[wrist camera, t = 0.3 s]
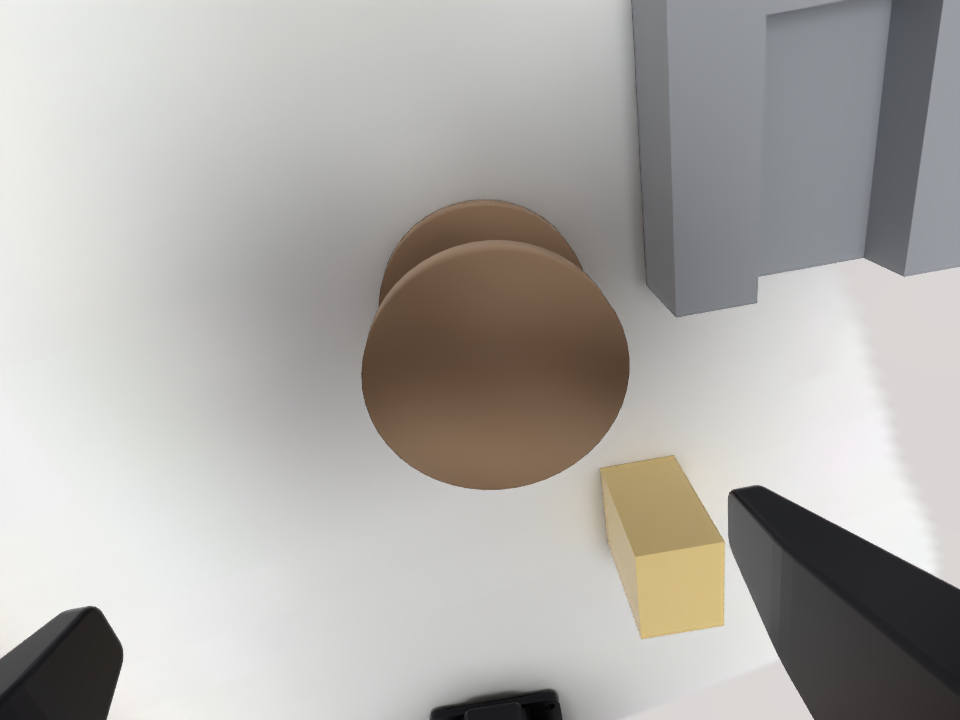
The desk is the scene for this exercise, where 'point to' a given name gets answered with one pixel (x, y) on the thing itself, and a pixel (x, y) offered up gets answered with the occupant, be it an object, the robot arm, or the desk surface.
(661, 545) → the tan tab
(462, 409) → the bobbin
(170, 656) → the desk surface
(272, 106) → the desk surface
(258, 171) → the desk surface
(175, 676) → the desk surface
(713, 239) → the notch board
